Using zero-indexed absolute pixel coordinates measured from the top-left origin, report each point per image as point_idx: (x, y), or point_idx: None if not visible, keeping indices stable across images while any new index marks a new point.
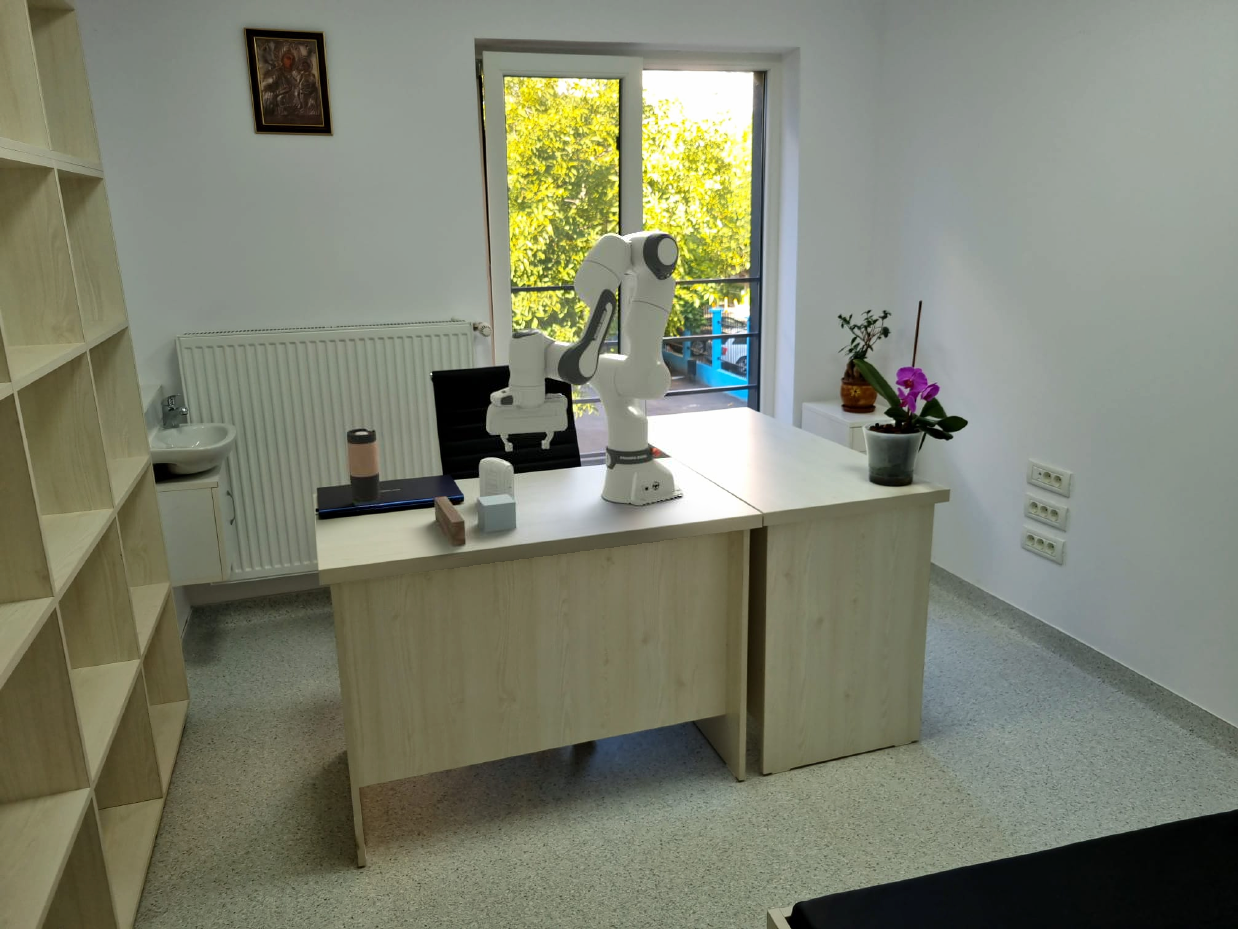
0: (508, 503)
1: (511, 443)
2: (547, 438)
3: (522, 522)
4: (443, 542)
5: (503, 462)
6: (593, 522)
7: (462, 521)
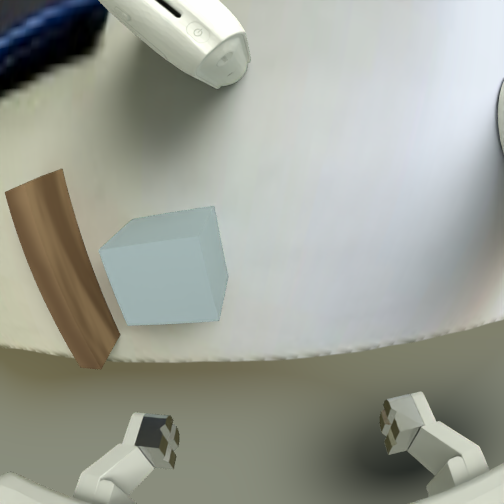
0: (196, 321)
1: (164, 456)
2: (428, 452)
3: (250, 239)
4: None
5: (181, 33)
6: (419, 281)
7: (98, 368)
